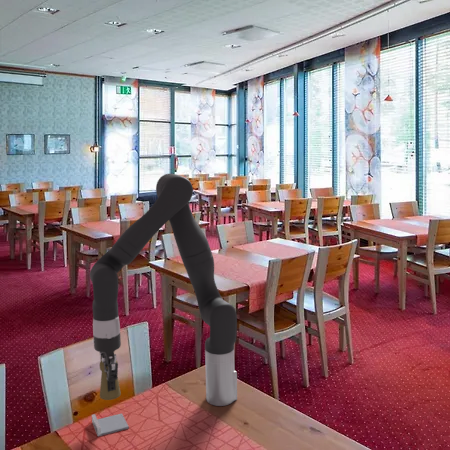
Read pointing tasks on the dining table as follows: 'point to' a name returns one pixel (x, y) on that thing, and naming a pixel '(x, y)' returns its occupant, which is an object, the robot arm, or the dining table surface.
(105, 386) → the cork
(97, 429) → the rail
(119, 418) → the slate shelf board
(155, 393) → the dining table surface
